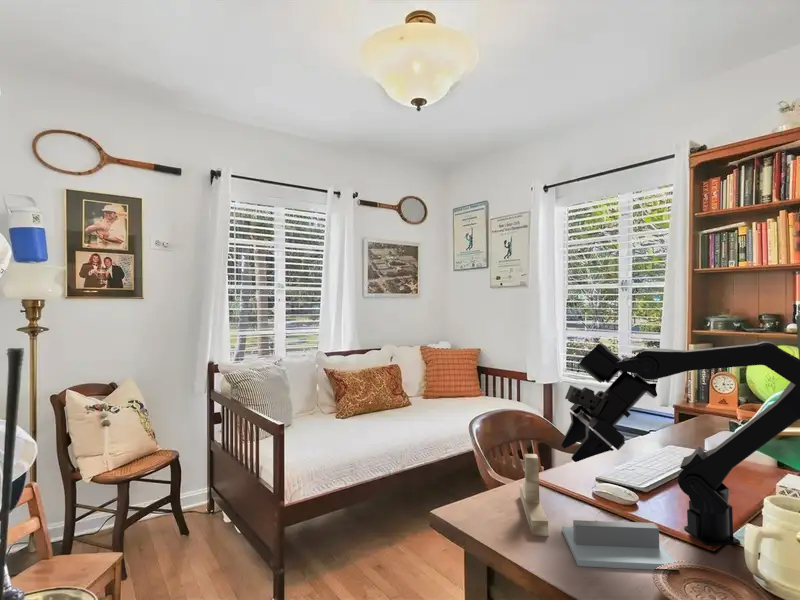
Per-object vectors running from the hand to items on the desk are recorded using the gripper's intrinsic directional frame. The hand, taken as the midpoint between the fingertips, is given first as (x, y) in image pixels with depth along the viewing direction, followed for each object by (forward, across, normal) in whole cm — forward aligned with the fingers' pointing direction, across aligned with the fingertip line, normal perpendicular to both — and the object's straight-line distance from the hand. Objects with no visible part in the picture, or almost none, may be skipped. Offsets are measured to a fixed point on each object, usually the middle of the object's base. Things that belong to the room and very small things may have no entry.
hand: (567, 453), depth 95 cm
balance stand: (+6, +13, +13) cm, 19 cm away
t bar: (+15, 0, +4) cm, 15 cm away
